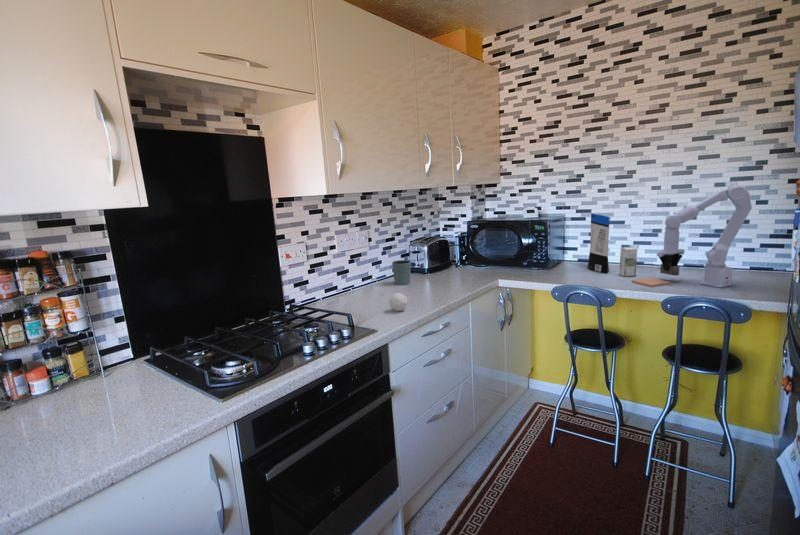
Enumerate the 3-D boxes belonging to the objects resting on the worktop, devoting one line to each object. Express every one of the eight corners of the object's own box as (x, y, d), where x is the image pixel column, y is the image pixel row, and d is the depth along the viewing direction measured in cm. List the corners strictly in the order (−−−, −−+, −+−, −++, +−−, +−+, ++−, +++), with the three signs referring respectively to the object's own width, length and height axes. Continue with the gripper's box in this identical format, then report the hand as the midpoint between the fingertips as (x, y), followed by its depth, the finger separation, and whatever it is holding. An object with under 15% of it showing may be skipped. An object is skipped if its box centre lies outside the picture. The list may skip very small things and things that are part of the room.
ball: (398, 318, 177) (390, 307, 172) (391, 307, 183) (383, 296, 178) (413, 307, 177) (405, 296, 172) (405, 297, 184) (397, 286, 178)
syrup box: (630, 273, 215) (632, 246, 213) (636, 276, 210) (637, 248, 207) (619, 274, 216) (620, 246, 213) (624, 276, 210) (625, 248, 207)
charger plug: (680, 274, 192) (681, 266, 191) (675, 275, 191) (675, 267, 190) (660, 270, 202) (661, 262, 201) (655, 271, 201) (655, 263, 200)
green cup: (400, 280, 233) (399, 259, 231) (415, 282, 227) (414, 260, 225) (389, 284, 225) (388, 262, 223) (405, 286, 219) (403, 264, 217)
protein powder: (597, 274, 219) (599, 217, 213) (581, 265, 243) (582, 213, 237) (616, 273, 218) (619, 216, 212) (598, 264, 242) (599, 212, 236)
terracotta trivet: (669, 284, 192) (670, 281, 192) (651, 287, 189) (651, 285, 189) (649, 279, 203) (649, 277, 202) (631, 282, 199) (631, 280, 199)
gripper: (675, 239, 199) (673, 266, 201) (651, 242, 194) (650, 270, 197) (689, 240, 192) (687, 269, 195) (665, 243, 188) (663, 273, 190)
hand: (669, 270), depth 195 cm, fingers closed on charger plug, 4 cm apart
